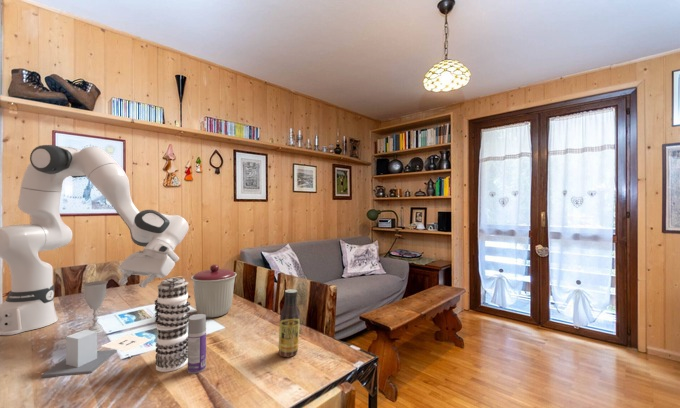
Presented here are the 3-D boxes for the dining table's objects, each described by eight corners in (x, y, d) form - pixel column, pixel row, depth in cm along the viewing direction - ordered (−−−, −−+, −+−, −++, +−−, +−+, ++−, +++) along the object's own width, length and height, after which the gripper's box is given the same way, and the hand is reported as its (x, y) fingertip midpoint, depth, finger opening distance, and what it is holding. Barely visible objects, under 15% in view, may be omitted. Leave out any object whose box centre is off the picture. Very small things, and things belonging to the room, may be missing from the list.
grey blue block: (65, 364, 84) (66, 336, 84) (85, 355, 89) (85, 329, 89) (77, 367, 83) (78, 339, 83) (97, 358, 87) (97, 331, 87)
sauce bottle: (279, 359, 89) (279, 294, 89) (277, 349, 95) (278, 288, 95) (300, 356, 91) (301, 292, 91) (298, 347, 97) (298, 287, 97)
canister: (180, 319, 119) (181, 268, 119) (208, 304, 136) (208, 259, 136) (221, 323, 115) (221, 270, 115) (244, 307, 133) (244, 261, 133)
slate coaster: (41, 377, 79) (41, 374, 79) (73, 355, 91) (73, 352, 91) (91, 373, 81) (91, 370, 81) (116, 352, 93) (116, 349, 93)
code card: (100, 346, 96) (100, 346, 96) (127, 335, 105) (127, 334, 105) (126, 352, 92) (126, 351, 92) (152, 339, 101) (152, 339, 101)
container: (201, 362, 87) (201, 312, 87) (208, 368, 84) (209, 316, 84) (184, 369, 83) (185, 317, 83) (192, 375, 80) (192, 321, 80)
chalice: (92, 337, 102) (92, 286, 102) (77, 335, 104) (77, 285, 104) (112, 328, 110) (112, 281, 110) (97, 327, 111) (98, 280, 111)
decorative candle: (157, 358, 89) (158, 276, 89) (191, 353, 92) (192, 274, 92) (150, 375, 80) (150, 284, 80) (187, 369, 83) (188, 281, 84)
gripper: (131, 245, 110) (102, 277, 101) (173, 248, 104) (146, 283, 95) (142, 255, 114) (115, 286, 105) (183, 259, 108) (159, 293, 99)
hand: (131, 285), depth 100 cm, fingers open, 8 cm apart
